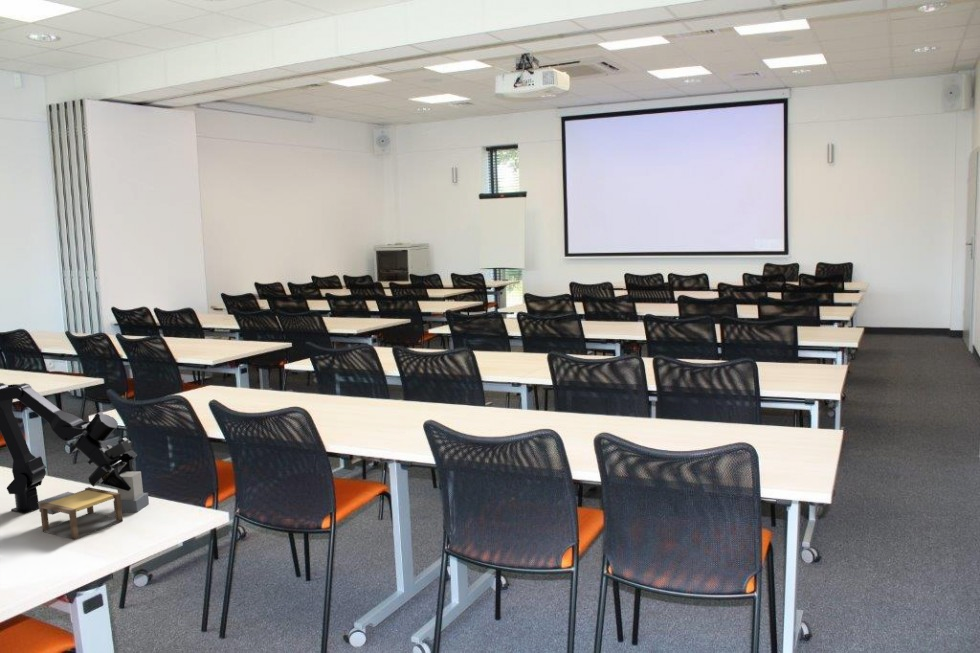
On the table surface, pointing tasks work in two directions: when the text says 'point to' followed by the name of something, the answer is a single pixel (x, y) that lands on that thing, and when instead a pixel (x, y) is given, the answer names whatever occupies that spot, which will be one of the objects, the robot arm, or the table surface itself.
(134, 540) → the table surface
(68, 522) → the frame
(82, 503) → the trapdoor
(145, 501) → the plinth
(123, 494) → the grey upright block
